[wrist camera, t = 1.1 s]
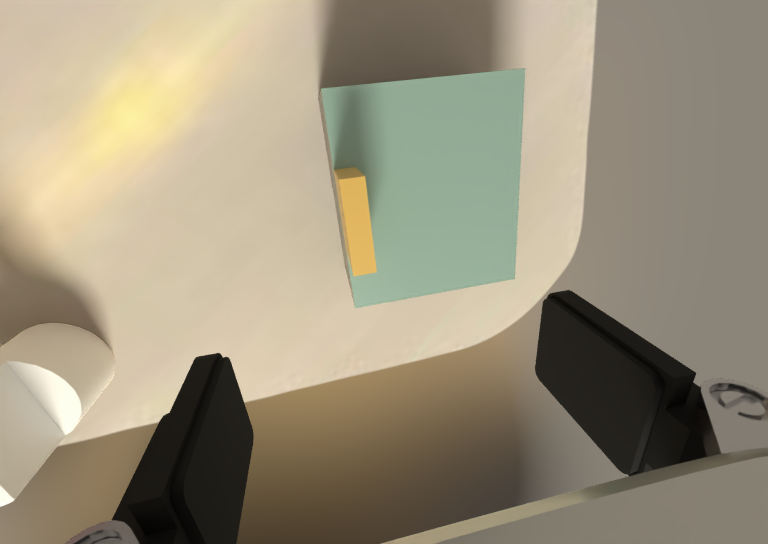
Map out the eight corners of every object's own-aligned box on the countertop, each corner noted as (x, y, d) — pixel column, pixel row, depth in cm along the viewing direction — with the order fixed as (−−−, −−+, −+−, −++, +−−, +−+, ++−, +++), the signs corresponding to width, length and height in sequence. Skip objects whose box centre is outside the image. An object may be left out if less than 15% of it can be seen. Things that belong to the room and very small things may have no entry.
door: (320, 91, 24) (323, 79, 18) (510, 72, 26) (574, 55, 20) (352, 297, 31) (363, 342, 24) (503, 270, 32) (550, 305, 26)
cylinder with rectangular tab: (132, 383, 37) (59, 490, 27) (42, 408, 37) (-71, 528, 26) (86, 312, 34) (-20, 400, 23) (-14, 337, 33) (-175, 442, 22)
